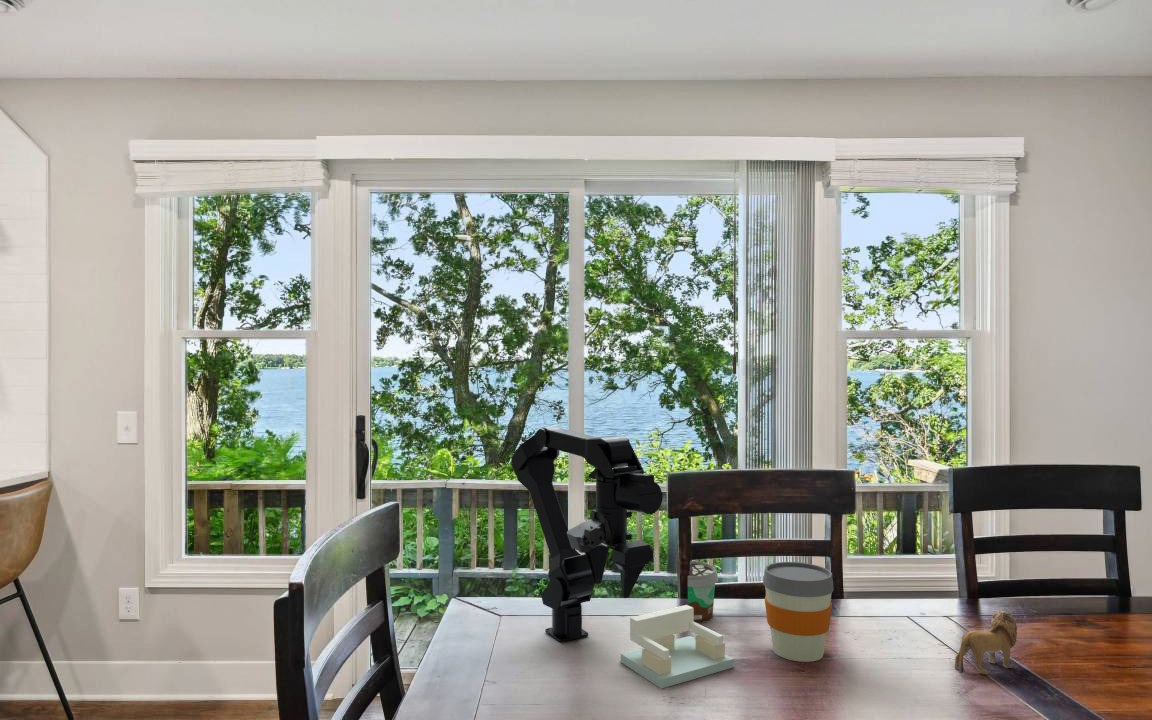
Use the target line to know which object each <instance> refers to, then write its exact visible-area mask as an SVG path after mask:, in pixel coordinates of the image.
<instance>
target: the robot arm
mask: <svg viewBox="0 0 1152 720" xmlns="http://www.w3.org/2000/svg"><path fill="white" fill-rule="evenodd" d="M560 452H564V453H568V454H572V455H574V456H578V457H582V458H583V459H584V460H585V461H586V463H587V464H588V465H590V466H592V467H593V468H594V469H593V470H592V471H591V472H590V473H588V475H587V476H588V478H589V479H592V480H595V509H591V512H590V514H589V519H588V520H586V521H583V522H581V523H579V524H578V525H576V526H574V527H572V528H570V529H569V527H568V525H567V522H566V519H565V515H564V514H563V511H562V508H561V504H560V502H559V499H558V497H557V496H558V495H557V494H556V490H555V487H554V483H553V481H554V476H555V471H556V467H555V461H556V460H557V459H558V457H559V456H560ZM510 459H511V460H510V465H511V468H512V470H513V472H514V474H515V477H516V478H517V480H518V483H520V484H521V485H522V486H524V488H525V489H527V490H528V491H529V494H530V497H531V499H532V503H533V506H534V509H535V511H536V515H537V519H538V522H539V524H540V527H541V530H542V532H543V535H544V540H545V542H546V546H547V549H548V552H549V554H550V558H551V559H550V563H549V569H548V579H549V583H548V584H547V586H546V587H545V588H544V589H543V590H542V592H541V594H540V597H541V600H542V604H543V606H546V607H548V608H551V627H547V628H545V632H546V633H547V635H549V636H551V637H552V638H553V639H555V640H557V641H558V642H560V643H563V642H567V641H572V640H575V639H580V638H585V637H588V636H589V632H588V631H586V630H585V629H583V615H582V613H583V612H582V608H583V607H582V604H583V603H586V602H590V601H591V599H592V595H593V592H594V588H595V585H599V584H600V585H601V584H602V581H603V578H604V574H605V568H606V564H607V560H608V556H609V549H610V550H613V557H614V559H615V560H614V561H613V564H614V565H615V566H616V568H618V570H619V573H620V586H621V594H622V598H623V599H628V598H629V597H630V596H631V593H632V591H633V590H634V587H635V585H636V584H637V581H638V579H639V577H640V575H641V574H642V572H643V570H644V568H645V567H646V565H649V564H650V562H654V561H655V549H654V547H653V546H652V545H650V544H649V543H647V542H644V541H641V540H634V541H633V534H632V533H631V532H629V531H628V518H632V517H633V512H637V513H641V514H645V515H654V514H655V513H657V511H659V510H660V508H661V506H662V503H663V498H664V497H663V496H664V495H663V492H662V489H661V486H660V485H659V483H657V482H656V481H655V475H654V474H653V473H645V471H644V468H643V466H642V463H641V462H640V460H639V458H638V456H637V454H636V452H635V450H634V448H633V446H632V444H631V443H630V439H629V438H628V437H626V436H625V435H613V436H612V435H610V436H594V435H590V434H585V433H582V432H579V431H573V430H568V429H564V428H562V427H561V426H544V427H543V426H542V427H541V428H539V429H538V430H537V431H536V432H535V433H534V435H532V436H531V437H529V438H528V439H527V440H525V441H524V442H522V443H520V445H519V446H518V448H516V449H515V451H514V453H513V454H512V456H511V458H510ZM630 540H631V541H630Z"/></svg>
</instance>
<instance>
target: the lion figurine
mask: <svg viewBox="0 0 1152 720" xmlns="http://www.w3.org/2000/svg"><path fill="white" fill-rule="evenodd" d="M1017 625H1018V624H1017V620H1016V619H1015V618H1014V617H1013V615H1012V614H1011V612H1008V611H1004V610H998V611H997V612H994V613H993V614H992V618H991V623H990V628H989V630H987V631H977V630H970V631H967V632H965V633H964V634H963V635H962V638H961V643H960V647H959V651H958V653H957V654H956V655H955V658H954V660H955V662H954V668H955V669H956V670H958V673H959V674H963V673H964V670H965V668H964V656H965V655H966V654H967V653H969V651H970V650H971V652H972V654H973V657H974V660H975V662H974V667H976V669H977V670H978V671H979V673H980V674H983V675H988V674H989V671H988V670H987V669H985V668H984V667H983V666H982V662H983V658H984V655H985V654H988V663H990V664H996V663H997V660H996V653H998V652H1000V651H1001V652H1002V655H1003V660H1002V664H1003V667H1004V668H1005V669H1008V668H1012V667H1013V666H1012V665H1011V664H1009V662H1010V660H1011V659H1010V658H1011V654H1012V653H1011V652H1012V651H1011V649H1012V648H1013V647H1015V646H1016V642H1017V637H1018V626H1017Z"/></svg>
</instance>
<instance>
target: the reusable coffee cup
mask: <svg viewBox="0 0 1152 720" xmlns="http://www.w3.org/2000/svg"><path fill="white" fill-rule="evenodd" d="M762 579H763V580H762V584H763V586H764V587H765V597H764V605H765V606H764V607H765V614H766V622H767V624H768V626H769V629H770V637H771V645H772V650H773V652H774V653H775V654H776V655H777V656H779V657H781V658H784V659H785V660H789V661H794V662H800V663H801V662H803V663H810V662H816V661H819V660H822V659H823V656H824V651H825V645H826V638H827V637H826V636H827V633H828V632H829V630H830V626H831V619H832V611H833V610H832V609H833V603H832V602H831V600H832V593H834V581H833V573H832V572H831V571H830V570H829V569H828V568H826V567H823V566H820V565H817V564H814V563H813V564H811V563H807V562H806V563H805V562H800V561H799V562H797V561H781V562H779V561H778V562H773V563H770V564H767V565H766V566H765V567H764V571H763V578H762Z"/></svg>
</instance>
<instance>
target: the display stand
mask: <svg viewBox="0 0 1152 720" xmlns="http://www.w3.org/2000/svg"><path fill="white" fill-rule="evenodd" d="M653 641H654V642H656V643H658V644H660V645H661V646H663V647H665V648H667V649H668V650H669V659H667V660H663V659H662V658H660V657H658V656H657V655H655V654H653V653H652V652H650V651H648V650H646V649H645V648H643V647H641V648H637V649H634V650H630V651H629V650H628V651H625V652H621V653H620V663H622V665H625V666H627V668H629V669H631V670H632V671H633V672H635V673H637V674H639V675H640V676H642V677H643V678H645V679H646V680H647V681H649V682H651V683H653V684H654V685H655V686H656V687H659V688H660V689H664V688H668V687H672V686H675V685H678V684H682V683H685V682H688V681H691V680H695V679H699V678H702V677H705V676H709V675H713V674H716V673H719V672H722V671H725V670H729V669H733V668H734V667H735V658H733V657H732V656H729V654H726V643H725V641H723V644H722V645H717V644H715V643H713V642H711V641H709V640H707V639H705V638H703V637H701V636H699V635H697V634H696V635H695V637H693V636H691V635H689V636H684V637H679V638H676V639H675V634H673V635H669V636H665V637H661V638H657V639H653Z"/></svg>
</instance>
